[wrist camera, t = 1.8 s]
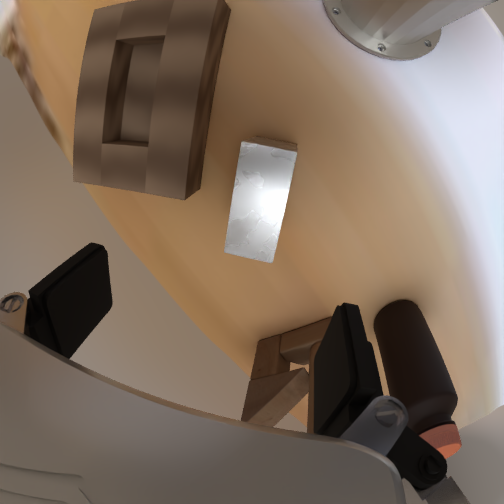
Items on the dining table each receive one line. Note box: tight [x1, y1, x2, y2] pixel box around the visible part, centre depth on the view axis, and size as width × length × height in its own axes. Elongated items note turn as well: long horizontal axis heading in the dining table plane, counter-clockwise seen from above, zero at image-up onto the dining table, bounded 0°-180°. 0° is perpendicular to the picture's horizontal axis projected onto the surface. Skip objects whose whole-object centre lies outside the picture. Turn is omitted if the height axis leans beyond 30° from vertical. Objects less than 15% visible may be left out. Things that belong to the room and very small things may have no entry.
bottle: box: [374, 300, 462, 459], centre depth 24 cm, size 7×7×20 cm
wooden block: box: [241, 318, 332, 435], centre depth 28 cm, size 4×11×18 cm, turn 120°
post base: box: [73, 0, 231, 200], centre depth 23 cm, size 20×14×4 cm
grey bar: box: [224, 136, 297, 263], centre depth 25 cm, size 9×4×8 cm, turn 170°
